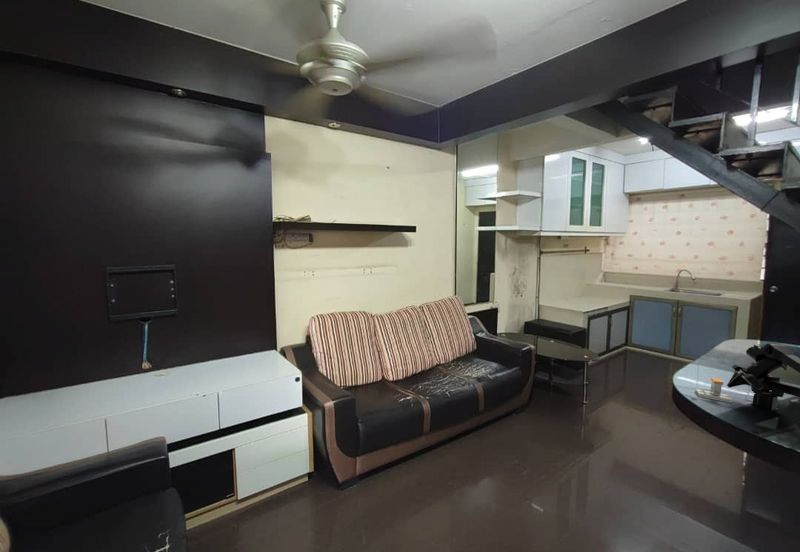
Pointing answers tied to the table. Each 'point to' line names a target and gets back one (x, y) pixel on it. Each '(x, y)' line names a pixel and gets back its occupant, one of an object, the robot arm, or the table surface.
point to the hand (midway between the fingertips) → (727, 386)
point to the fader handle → (716, 386)
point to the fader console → (709, 395)
